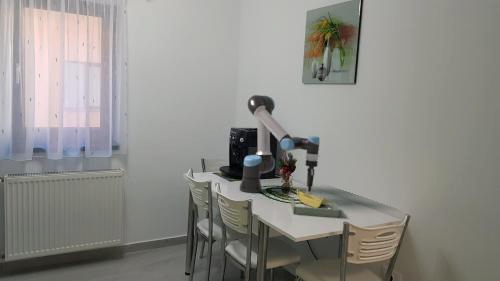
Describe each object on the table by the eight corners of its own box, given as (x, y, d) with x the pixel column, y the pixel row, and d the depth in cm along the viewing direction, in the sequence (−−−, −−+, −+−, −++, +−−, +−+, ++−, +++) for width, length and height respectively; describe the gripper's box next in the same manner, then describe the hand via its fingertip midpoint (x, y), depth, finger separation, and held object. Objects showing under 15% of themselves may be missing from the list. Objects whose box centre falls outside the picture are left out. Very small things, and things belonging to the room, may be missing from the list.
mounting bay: (290, 205, 224) (291, 198, 224) (334, 208, 224) (334, 201, 223) (293, 214, 208) (294, 206, 207) (340, 217, 207) (341, 209, 207)
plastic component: (329, 202, 230) (322, 197, 223) (324, 213, 229) (317, 208, 221) (303, 192, 243) (296, 187, 236) (298, 202, 242) (291, 198, 235)
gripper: (319, 162, 234) (315, 198, 236) (316, 158, 247) (312, 193, 249) (307, 161, 234) (304, 197, 236) (304, 158, 247) (301, 192, 249)
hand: (308, 195), depth 243 cm, fingers closed
